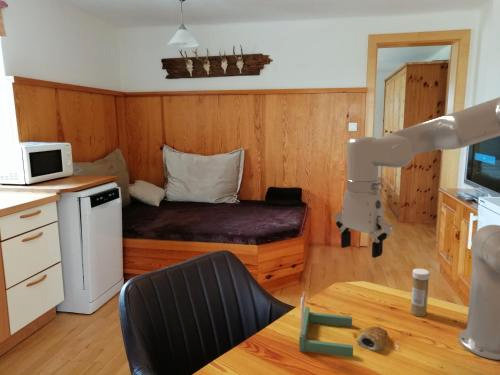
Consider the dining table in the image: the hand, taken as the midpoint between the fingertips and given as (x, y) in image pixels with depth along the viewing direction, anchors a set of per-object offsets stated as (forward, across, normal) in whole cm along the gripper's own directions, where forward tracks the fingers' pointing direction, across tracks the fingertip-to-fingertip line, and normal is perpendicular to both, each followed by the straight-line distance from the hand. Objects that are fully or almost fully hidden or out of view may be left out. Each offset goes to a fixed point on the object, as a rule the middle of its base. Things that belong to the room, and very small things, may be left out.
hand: (360, 251), depth 101 cm
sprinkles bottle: (+25, -3, -24) cm, 34 cm away
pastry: (+25, -4, 0) cm, 25 cm away
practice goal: (+24, +5, +7) cm, 25 cm away
